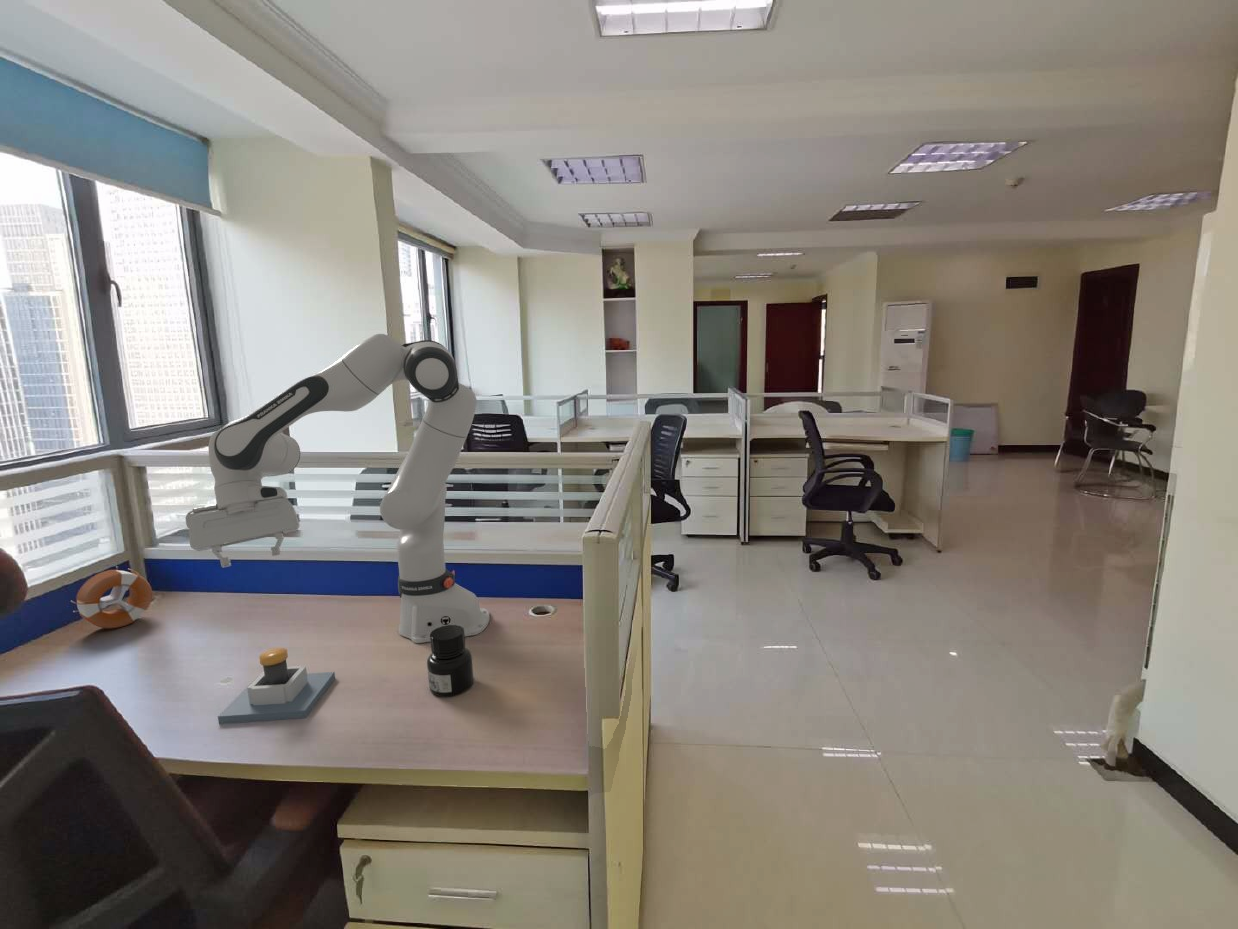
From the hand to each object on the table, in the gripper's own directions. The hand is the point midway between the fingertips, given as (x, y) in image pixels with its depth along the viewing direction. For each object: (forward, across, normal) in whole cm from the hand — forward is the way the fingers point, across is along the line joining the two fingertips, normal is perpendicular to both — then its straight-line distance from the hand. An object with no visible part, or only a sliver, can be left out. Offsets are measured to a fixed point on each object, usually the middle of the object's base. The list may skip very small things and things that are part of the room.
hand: (251, 560), depth 126 cm
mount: (+30, +1, -3) cm, 30 cm away
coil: (0, -40, +52) cm, 66 cm away
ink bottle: (+38, +33, -12) cm, 51 cm away
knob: (+28, +1, -3) cm, 29 cm away
